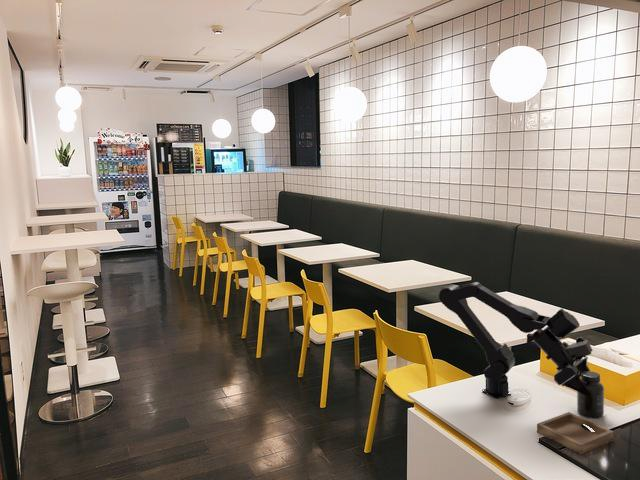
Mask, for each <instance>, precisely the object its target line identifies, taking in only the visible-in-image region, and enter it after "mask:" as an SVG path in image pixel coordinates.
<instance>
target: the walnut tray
mask: <svg viewBox="0 0 640 480" xmlns="http://www.w3.org/2000/svg"><path fill="white" fill-rule="evenodd" d="M583 424H585V425H587V426H589V427H590V428H592V429H593V430H594V431H595V432H590V431H588V430H585V429H584V428H582V427H581V426H580V425H583ZM536 433H537V434H539V435H541V436H543V437H545V436H548V437H549V438H552V439H553V440H555V441H557V442H559V443H560V444H562V445H563V447H564V446H565V447H564V448H566V447H567V448H566V449H568V448H569V449H568V450H570V449H571V450H570V451H572V450H573V451H572V452H574V451H575V453H576V452H577V453H576V454H578V453H579V454H578V455H580V454H581V455H584V454H585V452H586V453H588V452H590V451H593V450H595V449H597V448H599V447H598V446H600V445H602V446H604V445H606V444H605V443H607V442H609V441H611V442H613V441H614V433H615V432H614V431H613V430H611V429H608V428H606V427H604V426H602V425H600V424H597V423H595V422H593V421H591V420H588V419H586V418H585V417H583V416H582V417H581V416H580V415H577V414H574V413H572V412H570V411H568V412H565V413H562V414H560V415H557V416H554V417H551V418H549V419H547V420H544V421H540V422H538V423H536ZM549 438H548V439H549ZM553 440H552V441H553ZM612 440H613V441H612ZM555 441H554V442H555ZM557 442H556V443H557ZM559 443H558V444H559ZM609 443H610V442H609ZM560 444H559V445H560ZM603 444H604V445H603ZM607 444H608V443H607ZM562 445H561V446H562ZM596 447H597V448H596ZM600 447H601V446H600ZM594 448H595V449H594ZM592 449H593V450H592ZM587 451H588V452H587Z"/></svg>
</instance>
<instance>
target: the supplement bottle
mask: <svg viewBox="0 0 640 480" xmlns="http://www.w3.org/2000/svg"><path fill="white" fill-rule="evenodd" d="M580 378H581V380H582V381H583V383H584V384H585V385H586V387H587V388H588V389H589V391H590V392H591V394H592V395H591V396H590V397H588V396H586V395H584V394H582V393H580V392H578V391H576V392H577V393H576V394H577V397H576V399H577V400H576V410H577V413H578V414H579V416H582V417H583V418H588V419H600V418H599V417H601V418H602V417H603V416H604V413H605V409H604V408H605V387H604V385H603V384H602V383H601V375H600V374H599V373H598V372H596V371H591V370H590V371H584V372H582V373H581V377H580Z"/></svg>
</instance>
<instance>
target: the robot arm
mask: <svg viewBox="0 0 640 480" xmlns="http://www.w3.org/2000/svg"><path fill="white" fill-rule="evenodd" d="M471 297H472V298H475V299H476V300H478V301H480V302H481V303H484V304H485V305H487V306H488V307H490V308H492V309H493V310H495V311H497V312H498V313H500V314H501V315H503V316H504V317H506V318H507V319H508V321H509V322H510V323H511V324H512V325H513V327H515V328H516V329H518V330H519V331H520V332H522V333H524V334H527V335H526V345H530V344H531V343H533V342H534V343H535V344H536V345H537V346H538V347H539V348H540V349H541V350H542V352H543V353H545V355H546V356H545V358H546V359H547V361H549V360H551V361H552V363H554V364H555V366H556V370H557V371H556V372H555V374H554V376H553V380H554V381H555V383H556V384H557V385H558V386H560V385H561V386H562V387H566V388H569V389H571V390H573V391H576V392H577V391H578V392H580V393H582V394H584V395H586V396H588V397H590V396H591V395H592V394H591V392H590V391H589V389H588V388H587V387H586V385H585V384H584V383H583V381H582V380H581V373H582V372H584V371H591V370H590V367H589V366H588V358H589V356H590V355H592V352H594V350H593V348H592V346H591V342H590V341H589V339H586V338H584V337H583V336H579V337H577V338H576V339H575V342H573V343H571V344H568V343H567V342H565V341H561V340H560V339H559V338H562V339H565V338H566V337H567V336H569V335H570V334H571V333H572V332H574V331H576V330H577V329H578V328H579V327H581V326H580V323H579V321H578V319H577V318H576V317H575V316H574V315H573V314H571V313H569V312H568V311H567V310H564V309H563V308H560V309H558V310H557V312H556V313H555V314H553V315H552V316H547V315H543V314H539V313H538V312H537V311H536V310H533V309H531V308H528V307H526V306H522V305H518V304H515V303H512V302H511V301H509V300H508V299H506V298H504V297H503V296H501V295H499V294H497V293H496V292H494V291H493V290H490V289H489V288H487V287H485V286H484V285H482V284H481V283H480V282H478V281H475V282H472V283H467V284H462V285H458V284H450V285H448V286H446V287H443V288H441V289H440V291H439V294H438V299H439V302H440V303H441V304H442V305H443V306H444V307H445V308H446V309H447V310H449V311H451V312H452V313H454V314H455V315H457V317H458V318H459V319H460V320H461V322H462V323H463V325H464V326H465V327H466V329H467V330H468V331H469V332H470V333H471V335H472V336H473V338H474V339H475V341H476V342H477V343H478V344H479V346H480V347H481V348H482V350H484V351H483V352H484V354H485V357H486V361H487V363H488V364H489V365H488V366H487V367H486V368H485V369H484V370H483V373H482V374H483V375H484V378H485V388H484V389H481V391H483V390H484V392H486V393H488V394H489V395H488V394H487V395H488V396H490V395H491V396H490V397H492V396H493V398H494V397H495V398H494V399H500V397H501V398H503V396H504V397H506V396H505V395H507V394H508V393H509V392H510V391H509V382H508V379H509V378H508V376H507V375H506V374H507V373H509V372H510V370H511V369H512V368H513V367H514V366H515V363H516V357H515V356H514V354H515V353H514V352H513V351H512V350H511V349H510V348H509V346H508V345H507V343H504V344H503V345H502V344H500V343H499V342H497V341H496V339H494V337H493V336H492V334H491V333H490V332H489V331H488V329H487V328H486V326H484V324H483V323H482V322H481V320H480V319H479V318H478V316H477V315H476V314H475V312H474V311H473V310H472V308H471V307H470V305H469V303H468V300H467V298H471ZM546 326H547V327H546ZM532 332H533V333H532ZM484 392H483V393H484ZM486 393H485V394H486ZM507 396H508V395H507Z"/></svg>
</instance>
